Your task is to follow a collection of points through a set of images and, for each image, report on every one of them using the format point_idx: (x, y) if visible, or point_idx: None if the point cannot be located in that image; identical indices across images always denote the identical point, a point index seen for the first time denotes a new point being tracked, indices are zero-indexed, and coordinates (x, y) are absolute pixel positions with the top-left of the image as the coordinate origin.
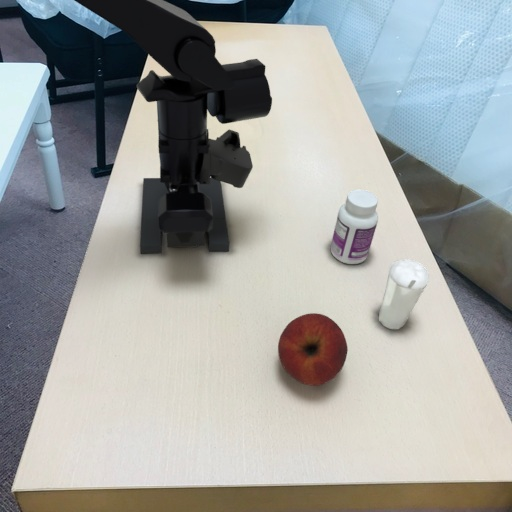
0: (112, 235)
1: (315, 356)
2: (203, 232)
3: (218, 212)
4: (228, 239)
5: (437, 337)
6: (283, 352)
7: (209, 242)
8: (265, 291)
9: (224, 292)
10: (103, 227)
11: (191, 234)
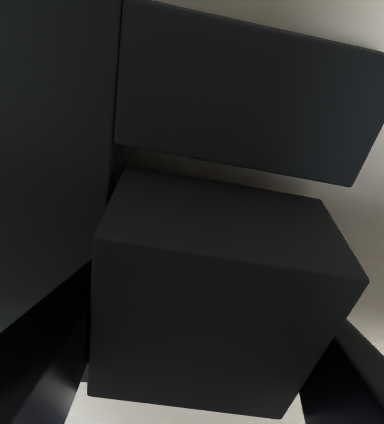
0: (131, 404)
1: None
2: (358, 267)
3: (42, 40)
4: (372, 54)
5: None
6: None
7: (340, 185)
8: None
9: None
10: (91, 414)
11: (372, 346)
